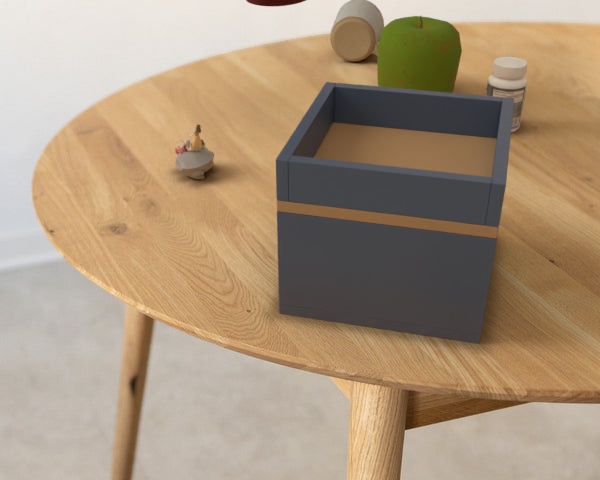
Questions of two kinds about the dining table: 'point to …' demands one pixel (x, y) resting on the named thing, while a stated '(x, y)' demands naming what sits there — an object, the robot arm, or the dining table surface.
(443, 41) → the apple
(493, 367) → the dining table surface
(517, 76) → the pill bottle
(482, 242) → the box
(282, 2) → the mug
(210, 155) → the figurine
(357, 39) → the ceramic mug
